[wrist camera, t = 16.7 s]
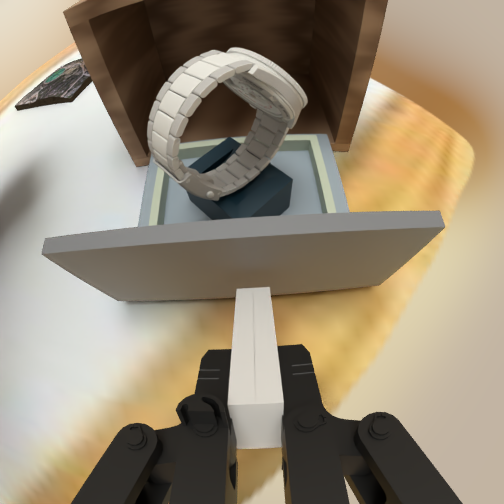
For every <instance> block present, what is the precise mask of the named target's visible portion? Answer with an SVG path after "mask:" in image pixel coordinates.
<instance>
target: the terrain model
mask: <svg viewBox="0 0 504 504" xmlns="http://www.w3.org/2000/svg"><path fill="white" fill-rule="evenodd" d="M91 82H92V79H91V76H90V74H89V72H88V70H87V68H86V66H85V63H84V61H83V59H78V60H76V61H73V62H70V63H68V64H66V65H64V66H63V67H62V66H61V68H59V69H57V70H56V71H55V72H53V73H52V74H51V75H50V76H48V77H47V78H46V79H45V80H44V81H43V82H41V83H40V84H39V85H38V86H37V87H35V88H34V89H33V90H32V91H31V92H29V93H28V94H27V95H26V96H24V98H22V99H21V100H20V101H19V102H18V103H17V105H15V108H16V109H17V111H18V110H23V109H28V108H33V107H39V106H43V105H51V104H57V103H65V102H73V101H74V100H75V98H76V97H77V96H78V95H79V94H80V93H81V92H82V91H83V90H84V89H85V88H86V87H87V86H88V85H89V84H90V83H91Z"/></svg>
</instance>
